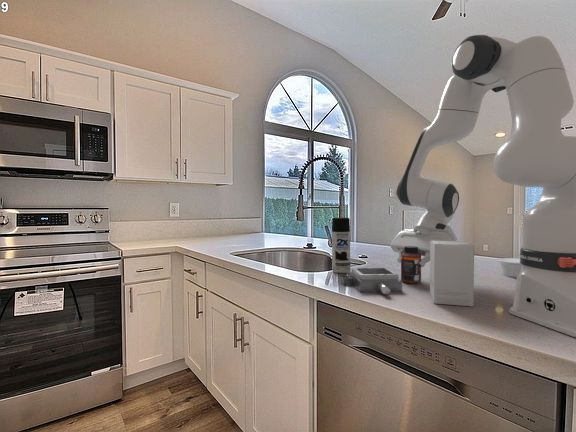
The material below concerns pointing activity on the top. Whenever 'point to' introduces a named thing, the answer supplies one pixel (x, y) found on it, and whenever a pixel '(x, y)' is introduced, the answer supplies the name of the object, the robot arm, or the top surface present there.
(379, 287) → the grey square tray
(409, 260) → the supplement bottle
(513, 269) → the ramekin
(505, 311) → the top surface
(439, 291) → the supplement box
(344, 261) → the spray can
